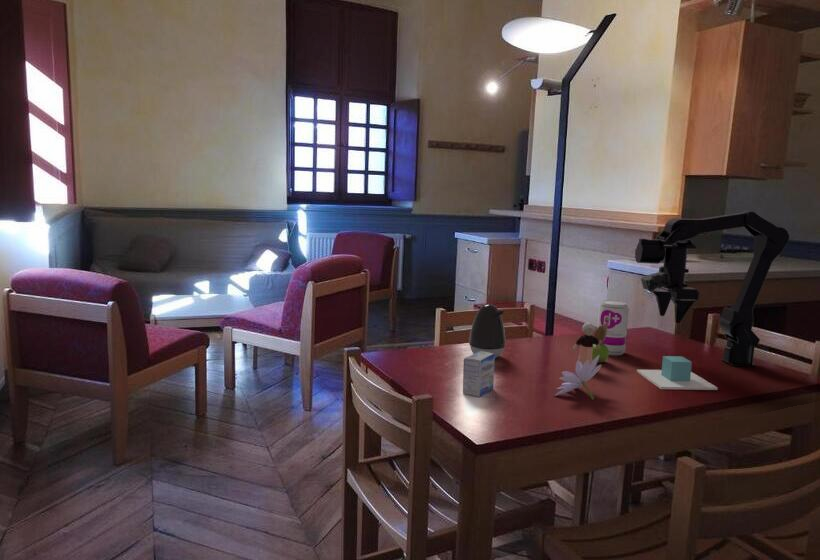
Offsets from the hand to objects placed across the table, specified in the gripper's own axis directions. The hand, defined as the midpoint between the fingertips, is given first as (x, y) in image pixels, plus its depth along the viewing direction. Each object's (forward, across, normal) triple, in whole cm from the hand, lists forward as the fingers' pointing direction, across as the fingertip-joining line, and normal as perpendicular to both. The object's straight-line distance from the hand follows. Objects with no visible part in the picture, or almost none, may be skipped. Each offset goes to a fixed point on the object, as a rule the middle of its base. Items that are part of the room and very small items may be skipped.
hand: (669, 319), depth 168 cm
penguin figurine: (+12, -1, -51) cm, 52 cm away
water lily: (+12, +29, -35) cm, 47 cm away
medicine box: (+12, +28, -58) cm, 65 cm away
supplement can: (+12, -8, -13) cm, 20 cm away
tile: (+12, +18, -6) cm, 22 cm away
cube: (+11, +18, -6) cm, 22 cm away
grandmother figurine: (+12, +9, -26) cm, 30 cm away
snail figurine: (+12, +2, -20) cm, 24 cm away
